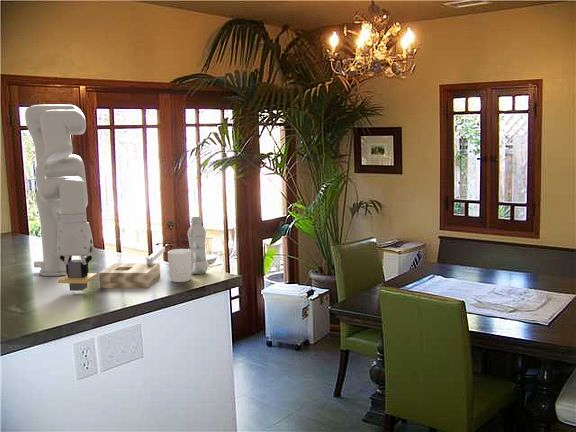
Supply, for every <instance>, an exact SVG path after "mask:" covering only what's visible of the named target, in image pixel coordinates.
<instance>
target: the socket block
mask: <svg viewBox="0 0 576 432" xmlns="http://www.w3.org/2000/svg"><path fill="white" fill-rule="evenodd" d="M98 277H99V288H100V289H109V288H110V289H149V287H151V286H152V285H154V283H155V282H157V281H158V280H159V279H160V278H161V265H160V263H157V262H156V263H155V262H153V266H147V262H146V263H145V262H143V263H137V262H134V263H127V262H125V263H120V262H119V263H118V262H117V263H113V264H112V265H109V266H108V267H107V268H105V269H103V270H101V271H99V272H98Z"/></svg>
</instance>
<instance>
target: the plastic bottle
mask: <svg viewBox="0 0 576 432" xmlns="http://www.w3.org/2000/svg"><path fill="white" fill-rule="evenodd" d="M202 223H203V221H202V217H201V216H199V217H198V216H195V217H193V216H191V218H190V224H191V225H190V227H188V230H187V238H188V244H189V249H190V250H191V274H193V275H194V274H195V275H201V274H202V275H203V274H205V273H206V272H207V271H208V267H209V266H208V261H207V256H206V236H207V232H206V229H205V227H204V226H203V225H202Z"/></svg>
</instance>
